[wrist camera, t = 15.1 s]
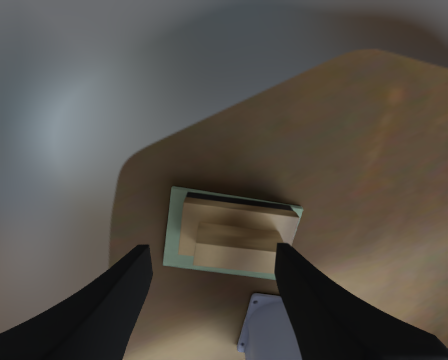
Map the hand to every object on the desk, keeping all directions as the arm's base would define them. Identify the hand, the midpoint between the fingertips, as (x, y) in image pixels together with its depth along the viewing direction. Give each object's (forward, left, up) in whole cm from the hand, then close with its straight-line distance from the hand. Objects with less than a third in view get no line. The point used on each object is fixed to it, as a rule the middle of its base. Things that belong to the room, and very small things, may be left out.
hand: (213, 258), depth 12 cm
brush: (-2, -2, -9) cm, 9 cm away
